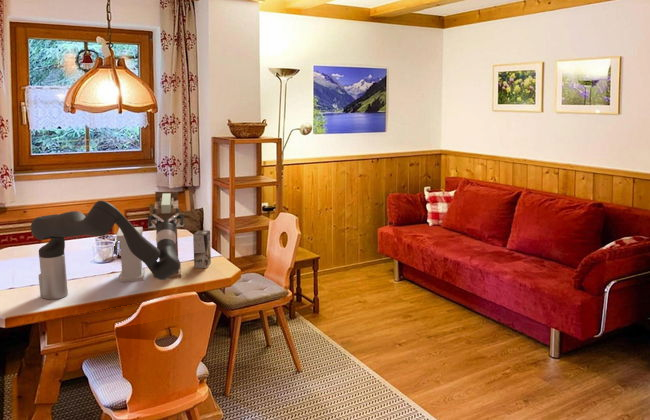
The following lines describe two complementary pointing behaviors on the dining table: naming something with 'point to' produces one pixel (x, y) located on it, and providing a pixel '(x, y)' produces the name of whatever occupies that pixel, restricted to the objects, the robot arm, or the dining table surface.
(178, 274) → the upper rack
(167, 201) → the batten
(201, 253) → the coffee box
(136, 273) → the post
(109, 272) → the dining table surface
